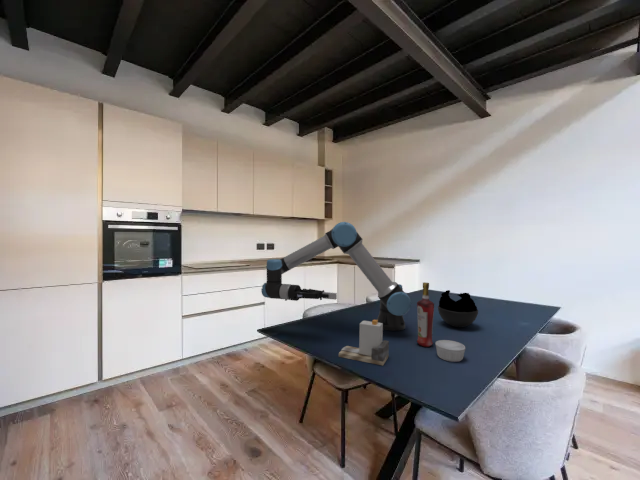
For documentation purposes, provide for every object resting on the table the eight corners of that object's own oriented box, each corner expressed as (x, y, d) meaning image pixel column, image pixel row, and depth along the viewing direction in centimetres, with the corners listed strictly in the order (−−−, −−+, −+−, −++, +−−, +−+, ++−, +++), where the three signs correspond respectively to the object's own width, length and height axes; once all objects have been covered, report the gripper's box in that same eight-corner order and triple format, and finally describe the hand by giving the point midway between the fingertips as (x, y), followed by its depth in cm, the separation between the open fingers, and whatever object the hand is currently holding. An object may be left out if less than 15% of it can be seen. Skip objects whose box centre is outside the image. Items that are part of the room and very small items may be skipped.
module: (359, 353, 119) (359, 320, 119) (363, 349, 124) (363, 317, 124) (379, 357, 116) (379, 322, 116) (382, 353, 120) (382, 319, 120)
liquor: (412, 343, 137) (413, 282, 137) (425, 341, 140) (426, 281, 140) (424, 348, 131) (425, 284, 130) (437, 346, 134) (438, 283, 133)
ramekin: (463, 365, 114) (463, 352, 114) (432, 359, 120) (432, 345, 120) (466, 356, 124) (467, 343, 124) (438, 350, 130) (438, 338, 130)
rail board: (338, 356, 121) (338, 340, 121) (346, 349, 129) (346, 334, 129) (383, 365, 113) (383, 348, 113) (388, 357, 121) (388, 341, 121)
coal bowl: (485, 332, 155) (486, 296, 154) (446, 331, 155) (446, 295, 155) (467, 321, 175) (467, 289, 174) (432, 320, 175) (432, 288, 175)
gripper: (297, 297, 153) (341, 301, 143) (284, 302, 141) (330, 307, 131) (297, 282, 153) (341, 285, 143) (283, 286, 141) (330, 290, 131)
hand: (336, 296), depth 137 cm, fingers closed
